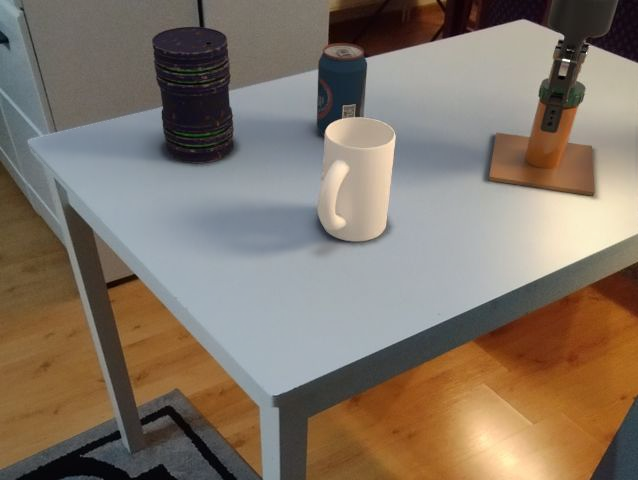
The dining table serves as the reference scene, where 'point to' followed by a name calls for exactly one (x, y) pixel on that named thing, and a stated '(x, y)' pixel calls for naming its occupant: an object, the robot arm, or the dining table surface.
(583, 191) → the mat
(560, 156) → the jar
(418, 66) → the dining table surface
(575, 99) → the jar lid
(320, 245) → the dining table surface
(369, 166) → the mug
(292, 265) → the dining table surface
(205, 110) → the dark ridged cylinder
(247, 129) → the dining table surface
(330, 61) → the soda can
